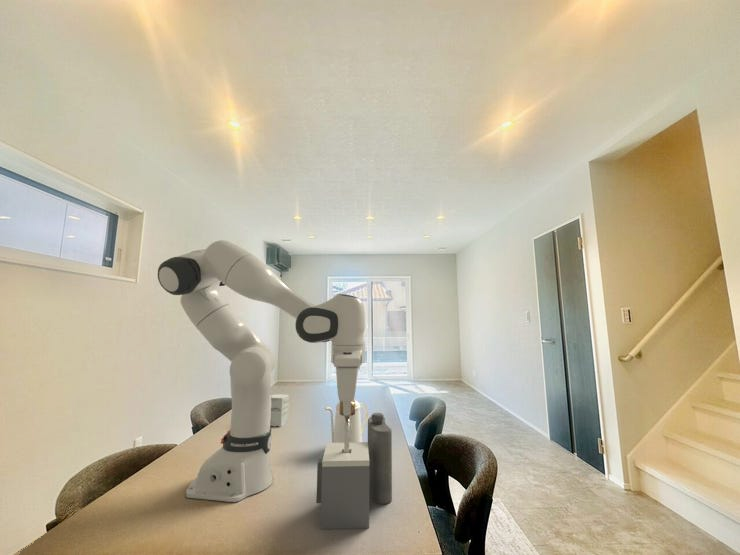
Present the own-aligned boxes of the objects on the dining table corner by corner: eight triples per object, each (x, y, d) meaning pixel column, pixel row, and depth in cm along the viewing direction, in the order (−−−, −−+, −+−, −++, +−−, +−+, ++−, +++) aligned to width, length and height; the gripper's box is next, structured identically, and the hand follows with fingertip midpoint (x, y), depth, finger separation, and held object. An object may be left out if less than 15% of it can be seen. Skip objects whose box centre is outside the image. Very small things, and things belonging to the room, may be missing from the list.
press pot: (313, 529, 68) (315, 461, 70) (319, 501, 78) (320, 442, 81) (369, 528, 68) (369, 460, 70) (367, 500, 79) (367, 442, 81)
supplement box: (265, 426, 136) (267, 397, 138) (273, 421, 143) (275, 393, 145) (281, 427, 135) (282, 397, 137) (288, 422, 142) (289, 394, 144)
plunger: (331, 515, 70) (333, 404, 74) (333, 499, 77) (335, 398, 81) (359, 514, 70) (360, 404, 74) (359, 498, 77) (360, 398, 81)
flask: (365, 476, 91) (365, 407, 94) (383, 475, 92) (383, 406, 95) (371, 505, 77) (371, 422, 80) (393, 504, 77) (393, 421, 80)
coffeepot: (310, 457, 104) (312, 400, 107) (356, 436, 124) (357, 389, 127) (333, 466, 98) (334, 405, 101) (378, 443, 117) (378, 392, 120)
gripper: (338, 352, 89) (337, 401, 87) (333, 360, 69) (331, 424, 67) (359, 352, 90) (359, 400, 87) (360, 360, 69) (360, 423, 67)
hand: (347, 411), depth 77 cm, fingers open, 5 cm apart
